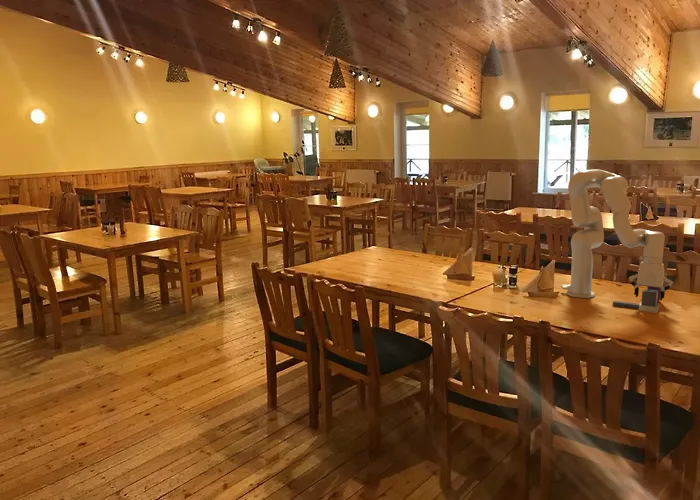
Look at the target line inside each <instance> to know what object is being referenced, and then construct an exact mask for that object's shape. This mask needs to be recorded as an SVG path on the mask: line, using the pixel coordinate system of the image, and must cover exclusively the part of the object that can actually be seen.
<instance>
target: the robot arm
mask: <svg viewBox="0 0 700 500" xmlns="http://www.w3.org/2000/svg"><path fill="white" fill-rule="evenodd" d="M593 188H598V189H600V190H599V191H600V192H601V194H602V196H603V199H604V200H605V201H606V204H607V206H608V208H609V209H610V211H611V213H612V224H613V226H612V227H613V229H614V231H615V234H616V236H617V238H618V240H619V241H620V242H621V244H622V245H623V246H624V247H626V248H629V249H632V248H635V247H642V246H643V255H639V257H638V258H639V260H641V262H640V264H639V267H638V271H637V272H638V273H636V274H635V275H631V276H629V277H628V279H629V282H630V284H631V286H633V288H634V291H633V292H634V294H633V295H635V298H638V297H639V291H640V286H645V287H647V286H651V287H660V289H661V294H660V300H659V301H663V299H665V292H666V291H667V290H669V289H670V288H671V287H672V285H673V284H674V281H672V280H671V279H669V278H667V277H665V265H664V263H663V257H664V249H665V239H666V237H665V234H664V232H661V231H656V230H655V231H652V230H647V229H644V228H636V229H633V227H632V224H631V223H630V219H629V214H630V211H631V209H632V202H631V201H630V199H629V197H628V195H627V194H626V192H627V191H628V189H629V183H628V180H627V179H626V178H625V177H624V176H621V175H617V174H616V173H612V172H609V171H606V170H602V169H597V168H596V169H595V168H594V169H585V170H581V171H578V172H576V173H575V174H573V175H572V176H571V177H570V179H569V181H568V187H567V189H568V196H569V205H570V206H569V207H570V215H571V221H572V224H573V225H574V226H575V227H576V228H584V229H582V230H579V231H578V230H577V232H575V233H574V234H572V237H571V239H570V247H571V270H570V284H568V285H567V284H561V285H560V287H561V289H562V290H567V291H566V295H568V296H569V297H572V298H578V299H579V298H580V299H590V298H593V297H595V295H596V294H595V292H594V291H592V286H593V285H592V283H593V272H594V271H593V270H594V255H593V251H592V250H593V249H596V248H599V247H601V245H602V244H603V243H604V239H605V233H604V222H603V216H602V213H601V211H600V209H599V208H598V207H596V206H592V205H591V204H590V197H589V193H588V192H587V190H588V189H593ZM635 279H637V280H636V282H635V281H634V280H635ZM664 283H667V285H666V286H665V285H664Z"/></svg>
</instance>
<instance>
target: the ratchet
mask: <svg viewBox="0 0 700 500" xmlns="http://www.w3.org/2000/svg"><path fill="white" fill-rule="evenodd" d="M641 302H642V300H641V301H640V302H639V303H638V302H637V303H635V302H628V301H620V300H613V301H612V306H613V307H621V308H629V309H633V310H634V309H635V310H638V311H639V312H646V313H655V314H658V311H659V309H660V303H659V302H657V305H656V307H653V306H646V305H641Z"/></svg>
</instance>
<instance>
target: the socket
mask: <svg viewBox="0 0 700 500" xmlns="http://www.w3.org/2000/svg"><path fill="white" fill-rule="evenodd" d="M657 298H658V290H649V289H647V288H643V290H642V291H641V301H642V302H641V301H640V303H641V305H646V306H653V307H656V305H657V303H658V302H657Z"/></svg>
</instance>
